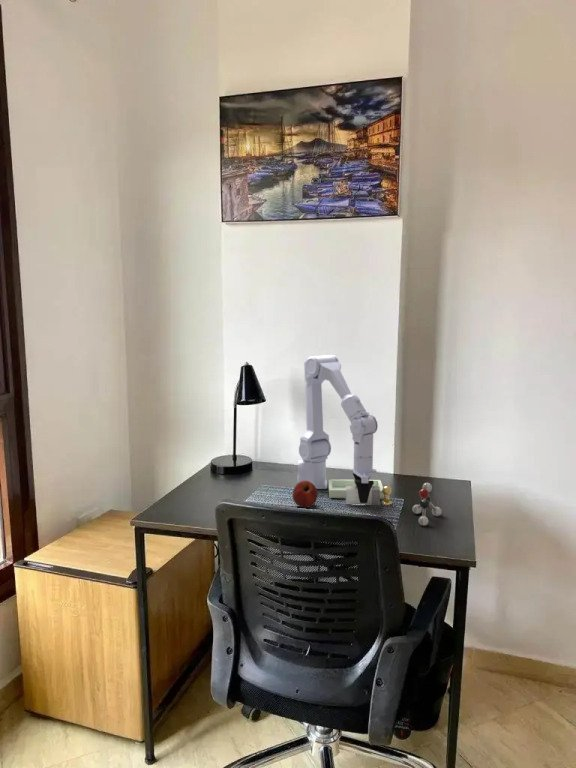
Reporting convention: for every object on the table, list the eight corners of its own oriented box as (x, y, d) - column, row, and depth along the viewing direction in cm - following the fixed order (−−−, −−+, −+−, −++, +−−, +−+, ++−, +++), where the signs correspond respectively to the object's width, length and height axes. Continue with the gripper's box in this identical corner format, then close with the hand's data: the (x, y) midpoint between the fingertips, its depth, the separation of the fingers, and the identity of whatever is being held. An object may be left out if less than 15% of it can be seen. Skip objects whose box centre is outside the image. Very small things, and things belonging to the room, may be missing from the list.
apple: (291, 510, 173) (291, 484, 172) (293, 501, 181) (293, 476, 180) (316, 511, 173) (317, 484, 172) (317, 502, 181) (317, 477, 180)
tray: (329, 498, 184) (329, 490, 183) (328, 487, 195) (328, 479, 194) (384, 499, 183) (384, 490, 182) (380, 488, 194) (380, 479, 193)
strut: (346, 505, 178) (346, 489, 177) (345, 501, 181) (345, 485, 181) (379, 506, 177) (380, 490, 176) (378, 501, 181) (378, 486, 180)
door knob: (382, 505, 178) (382, 487, 177) (381, 502, 180) (381, 484, 180) (392, 505, 177) (392, 487, 177) (390, 502, 180) (391, 484, 180)
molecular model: (441, 514, 170) (442, 479, 168) (438, 530, 159) (439, 492, 157) (412, 511, 173) (413, 476, 171) (407, 526, 161) (408, 489, 160)
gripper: (379, 462, 170) (378, 507, 172) (374, 449, 184) (373, 491, 186) (354, 462, 170) (354, 507, 172) (351, 449, 184) (351, 491, 186)
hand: (362, 499), depth 179 cm, fingers open, 6 cm apart
